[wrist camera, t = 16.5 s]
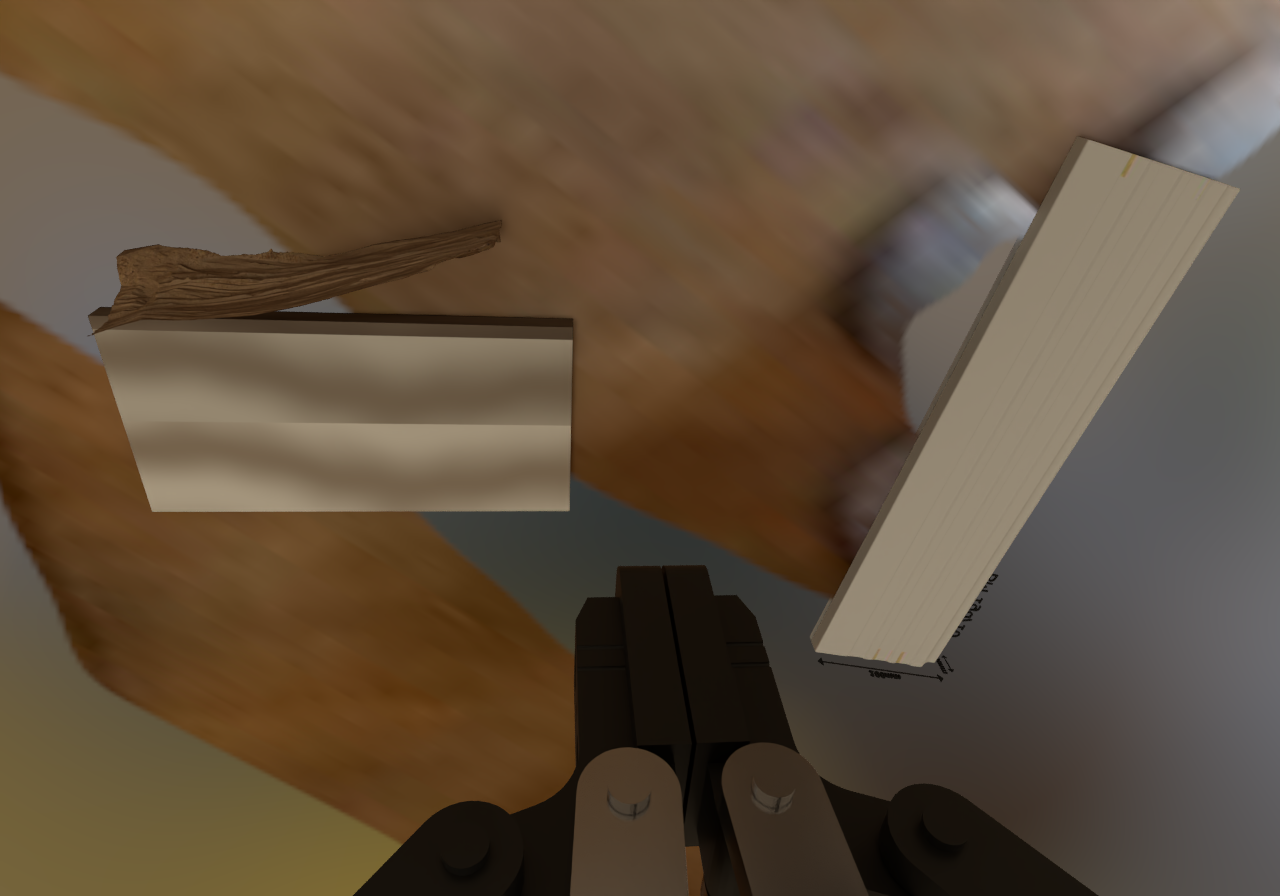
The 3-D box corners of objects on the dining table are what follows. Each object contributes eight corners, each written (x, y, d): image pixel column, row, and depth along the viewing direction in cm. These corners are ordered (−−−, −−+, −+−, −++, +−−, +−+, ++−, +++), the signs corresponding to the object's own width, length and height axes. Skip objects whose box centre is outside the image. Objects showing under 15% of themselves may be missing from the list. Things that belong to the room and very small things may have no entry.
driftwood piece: (493, 185, 31) (483, 218, 27) (505, 234, 33) (497, 273, 28) (126, 249, 31) (59, 292, 27) (150, 296, 33) (90, 344, 28)
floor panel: (100, 306, 32) (87, 315, 32) (572, 319, 35) (572, 327, 34) (161, 499, 38) (152, 511, 37) (569, 499, 40) (569, 510, 39)
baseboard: (1250, 192, 35) (1067, 133, 33) (1301, 208, 33) (1107, 145, 31) (948, 655, 50) (807, 634, 47) (967, 690, 47) (820, 669, 45)
